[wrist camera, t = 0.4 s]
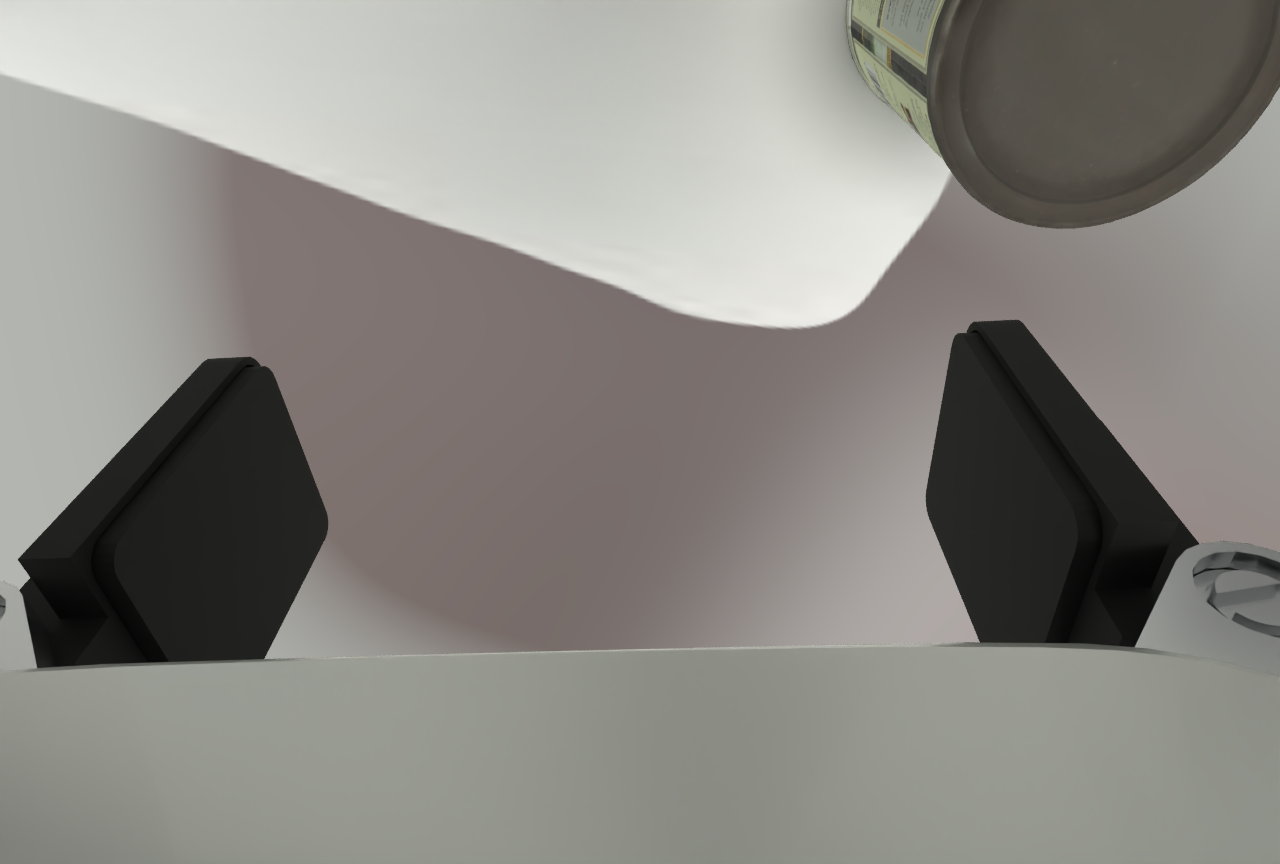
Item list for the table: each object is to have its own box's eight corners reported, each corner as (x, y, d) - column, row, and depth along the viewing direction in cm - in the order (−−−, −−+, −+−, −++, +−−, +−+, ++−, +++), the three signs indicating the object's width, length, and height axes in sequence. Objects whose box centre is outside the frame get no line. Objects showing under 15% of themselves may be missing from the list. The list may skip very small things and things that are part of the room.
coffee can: (1145, -93, 33) (1409, -74, 21) (1000, 151, 38) (1146, 271, 27) (920, -197, 31) (1074, -239, 19) (803, 74, 37) (868, 168, 25)
